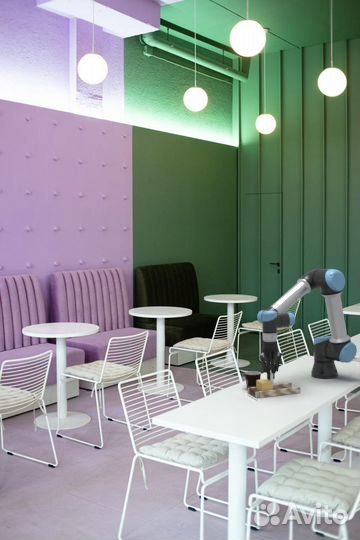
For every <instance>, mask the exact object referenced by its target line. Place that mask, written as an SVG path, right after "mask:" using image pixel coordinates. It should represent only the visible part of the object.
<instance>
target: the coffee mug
mask: <svg viewBox="0 0 360 540" xmlns="http://www.w3.org/2000/svg"><path fill="white" fill-rule="evenodd" d="M261 375H262V373H261V372H260V371H256V370H250V371H245V372H244V376H245V384H246V385H245V386H246V390H247V391H248V388H249V387H256V380H261V378H262V377H261Z"/></svg>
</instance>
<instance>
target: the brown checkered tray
mask: <svg viewBox="0 0 360 540" xmlns="http://www.w3.org/2000/svg"><path fill="white" fill-rule="evenodd" d="M299 394H301V387H300V386H295V387H294V386H293V383H292V382H285V383H275V384H273V390H267V391H257V388H256V387H249V388H248V390H247V395H249V396H250V398H251V399H253V398H254V399H255V401H258V400H257V399H264V398H265V399H267V398H274V397H283V396H291V395H299Z"/></svg>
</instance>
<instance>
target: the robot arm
mask: <svg viewBox="0 0 360 540" xmlns="http://www.w3.org/2000/svg"><path fill="white" fill-rule="evenodd" d="M345 285H346V278H345V275H344V273H343V272H342V271H340V270H338V269H335V268H315V269H312V270H309V271H308V272H307V273H305V274H304V275H302V276H300V278H298V279H297V281H296V283H295V284H294V285H293V286H292V287H291V288H290V289H289V290H288V291H286V292H285V293H284V294H283V295H282V296H281V297H280V298H279V299H277V301H275V302H274V303H273V304H271V306H269V307H268V308H267V309H262V310H260V311H258V313H257V317H256V318H257V321H258V322H259V324H261V325H262V328H261V329H262V352H261V354H258V358H259V359H260V363H261V367H262V370H263V372H264V373H266V379H268V380H270V381H272V382H273V383H274V380H275V377H276V376H275V375H276V373H277V372H279V368H280V363H281V358H282V356H283V353H282V352H280V351H279V350H278V329H282V328H289V327H293V326H294V325H295V324H296V316H295V315H294V313H293V312H288V310H289V309H290V308H292V306H293V305H295V304H296V303H297V302H298V301H299V300H301V298H303V297H304V296H305V295H306V294H309V293H311V292H313V291H314V290H320V294H321V296H322V297H324V301H325V307H326V312H327V317H328V323H329V324H328V325H329V329H330V335H326V336H318V337H315V338H314V339H313V366H312V369H311V370H310V371H311V373H310V374H311V377H313V378H316V379H334V378H337V377H338V376H339V371H338V370H337V369H338V368H337V366H336V364H335V361H336V362H340V363H345V364H348V363H349V364H350V363H351V362H352V361H353V360H354V359H355V358H356V356H357V352H358V349H357V345H356V344H355V343H354V342H352V341H351V336H349V335H348V334H347V332H348V331H347V326H346V321H345V315H344V309H343V303H342V298H341V295H342V293H343V289H344V288H345Z"/></svg>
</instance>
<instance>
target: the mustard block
mask: <svg viewBox="0 0 360 540" xmlns="http://www.w3.org/2000/svg"><path fill="white" fill-rule="evenodd" d="M273 385H274V381H273V382H272V381H270V380H268V379H267V378H263V379H261V378H260V380H256V388H257V391H267V390H273Z"/></svg>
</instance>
